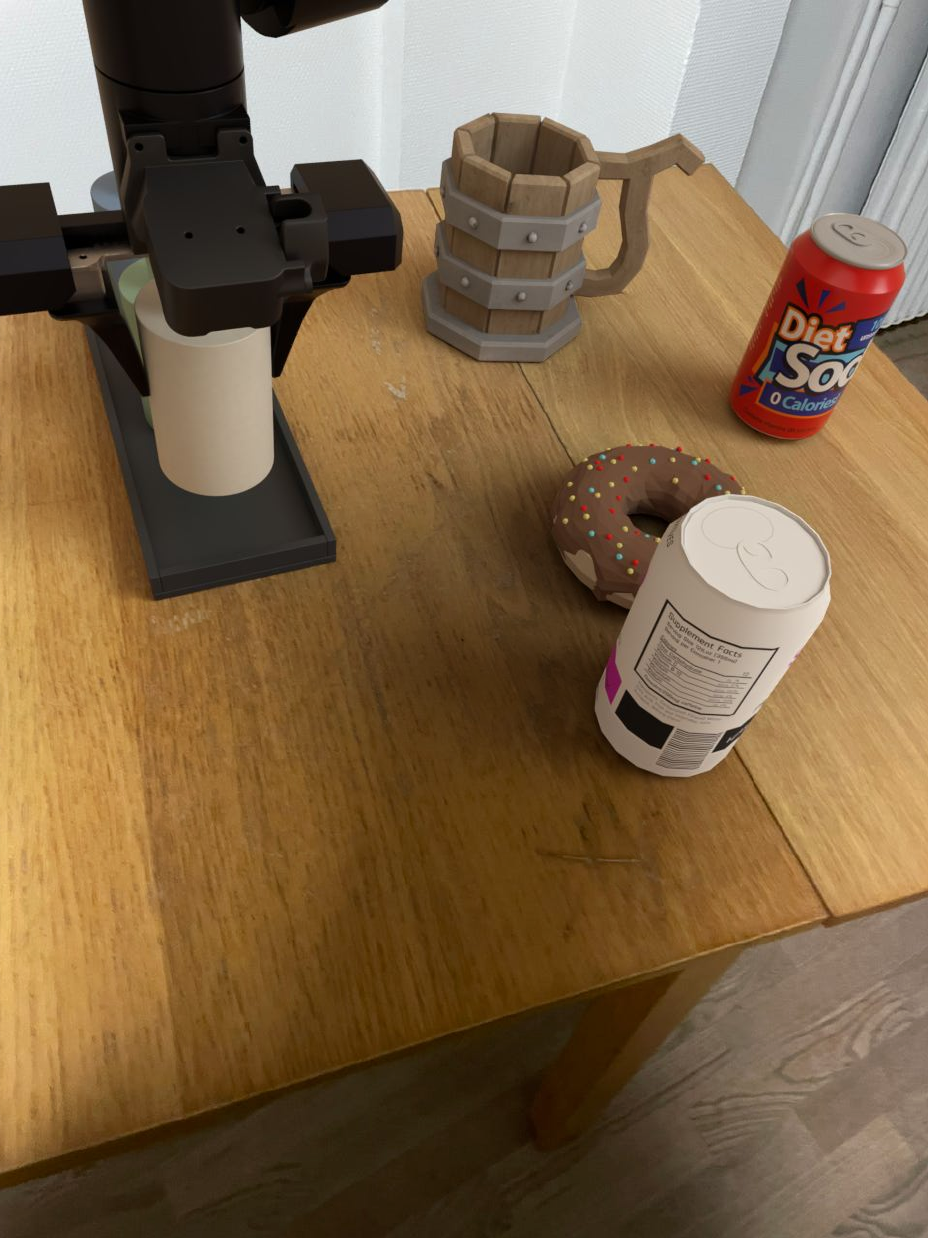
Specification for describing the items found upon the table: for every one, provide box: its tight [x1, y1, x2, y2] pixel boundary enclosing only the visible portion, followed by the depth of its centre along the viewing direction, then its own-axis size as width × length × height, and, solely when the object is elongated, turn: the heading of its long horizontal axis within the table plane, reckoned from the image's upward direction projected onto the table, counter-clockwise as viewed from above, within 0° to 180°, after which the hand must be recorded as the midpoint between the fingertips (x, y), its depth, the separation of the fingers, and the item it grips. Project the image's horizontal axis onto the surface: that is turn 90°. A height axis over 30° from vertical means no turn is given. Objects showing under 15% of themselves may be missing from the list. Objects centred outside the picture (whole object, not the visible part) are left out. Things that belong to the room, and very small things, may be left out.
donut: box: [547, 443, 747, 610], centre depth 59 cm, size 14×14×5 cm
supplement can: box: [594, 494, 832, 778], centre depth 47 cm, size 8×8×15 cm
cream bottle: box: [134, 279, 274, 496], centre depth 47 cm, size 6×6×13 cm
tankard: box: [420, 111, 706, 363], centre depth 70 cm, size 20×13×15 cm, turn 97°
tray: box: [82, 323, 337, 602], centre depth 63 cm, size 11×31×2 cm, turn 22°
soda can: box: [728, 212, 908, 440], centre depth 66 cm, size 8×8×15 cm
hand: (210, 382), depth 48 cm, fingers closed on cream bottle, 6 cm apart
